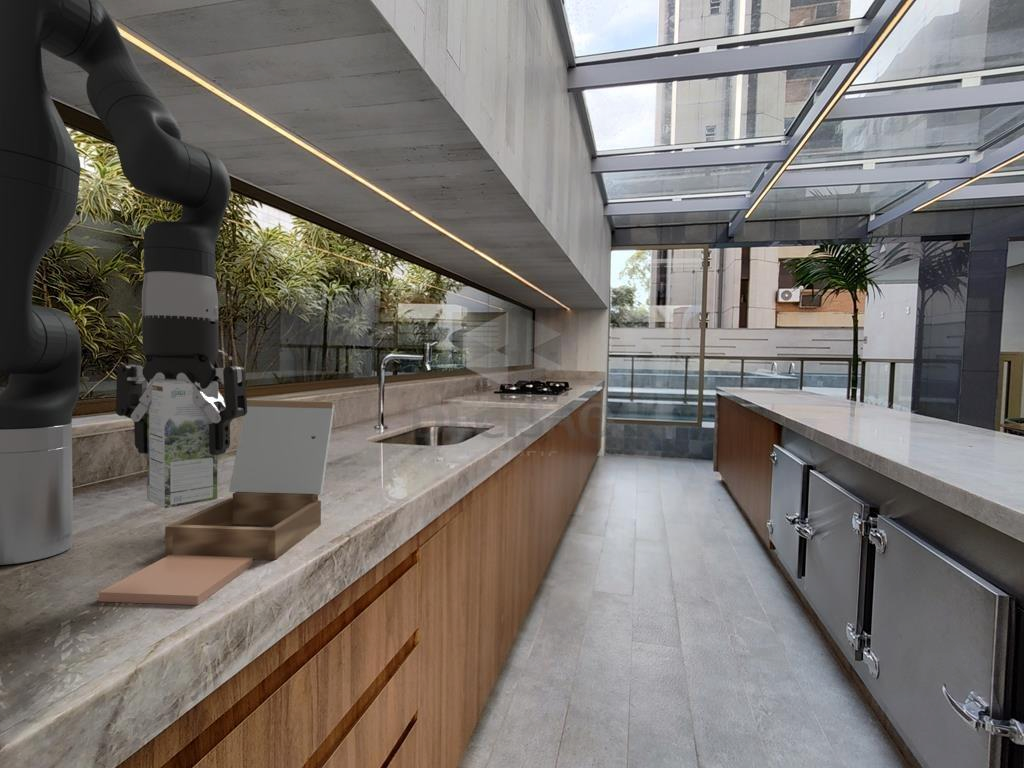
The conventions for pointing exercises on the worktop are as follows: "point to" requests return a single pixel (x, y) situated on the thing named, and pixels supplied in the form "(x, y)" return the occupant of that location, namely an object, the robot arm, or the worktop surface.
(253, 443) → the lid
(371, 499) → the worktop surface
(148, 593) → the tile
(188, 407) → the syrup box
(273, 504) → the wooden box
